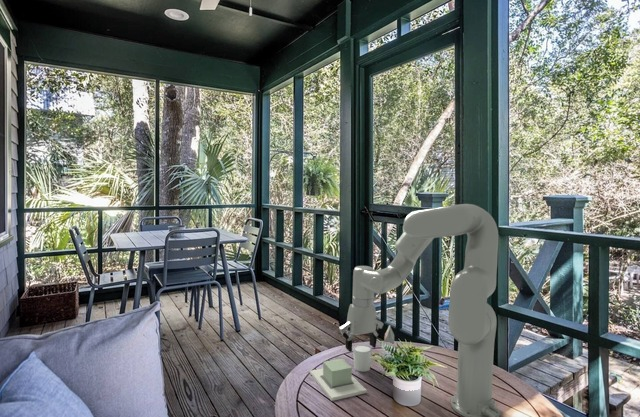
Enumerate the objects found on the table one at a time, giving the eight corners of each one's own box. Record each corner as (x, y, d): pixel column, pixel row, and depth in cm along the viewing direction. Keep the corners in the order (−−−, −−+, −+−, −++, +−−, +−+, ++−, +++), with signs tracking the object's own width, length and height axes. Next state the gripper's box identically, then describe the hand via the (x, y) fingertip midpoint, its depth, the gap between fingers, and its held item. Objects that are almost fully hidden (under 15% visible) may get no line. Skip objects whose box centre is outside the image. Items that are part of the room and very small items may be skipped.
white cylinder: (371, 363, 137) (371, 345, 136) (372, 373, 130) (372, 353, 130) (352, 362, 137) (352, 344, 137) (352, 371, 131) (352, 352, 130)
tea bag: (393, 349, 149) (394, 325, 149) (393, 356, 143) (394, 331, 142) (384, 348, 150) (385, 324, 149) (383, 355, 143) (384, 330, 143)
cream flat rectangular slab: (366, 392, 117) (366, 389, 117) (331, 401, 112) (331, 397, 112) (340, 367, 134) (340, 364, 134) (309, 373, 129) (309, 370, 129)
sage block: (351, 382, 121) (351, 367, 121) (331, 386, 118) (332, 371, 118) (341, 372, 127) (342, 358, 127) (323, 376, 125) (323, 361, 125)
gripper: (378, 296, 139) (376, 340, 141) (336, 300, 133) (334, 347, 134) (389, 302, 132) (387, 349, 134) (345, 307, 126) (344, 356, 127)
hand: (360, 348), depth 134 cm, fingers open, 9 cm apart
